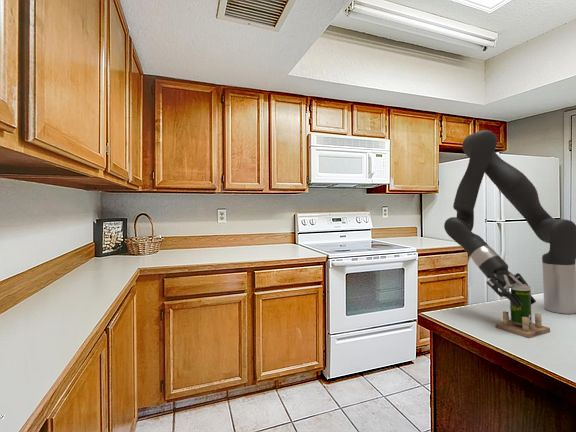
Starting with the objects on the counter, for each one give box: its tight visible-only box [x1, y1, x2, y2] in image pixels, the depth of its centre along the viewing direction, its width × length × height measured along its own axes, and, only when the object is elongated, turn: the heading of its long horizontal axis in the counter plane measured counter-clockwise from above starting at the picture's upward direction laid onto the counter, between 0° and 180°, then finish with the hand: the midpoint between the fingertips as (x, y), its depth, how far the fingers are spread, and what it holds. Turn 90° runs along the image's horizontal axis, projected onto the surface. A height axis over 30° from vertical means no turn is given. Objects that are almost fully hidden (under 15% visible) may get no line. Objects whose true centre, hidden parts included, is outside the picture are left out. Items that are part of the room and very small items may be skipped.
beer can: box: [509, 284, 533, 326], centre depth 100 cm, size 5×5×12 cm
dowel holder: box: [495, 310, 551, 339], centre depth 100 cm, size 10×10×5 cm
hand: (526, 304), depth 98 cm, fingers open, 5 cm apart
